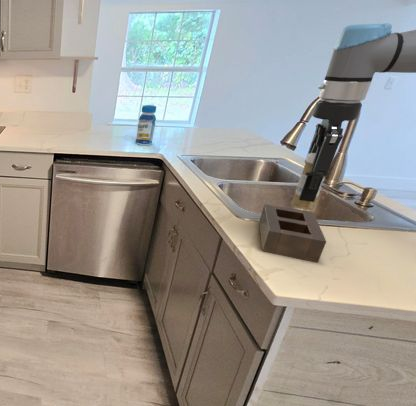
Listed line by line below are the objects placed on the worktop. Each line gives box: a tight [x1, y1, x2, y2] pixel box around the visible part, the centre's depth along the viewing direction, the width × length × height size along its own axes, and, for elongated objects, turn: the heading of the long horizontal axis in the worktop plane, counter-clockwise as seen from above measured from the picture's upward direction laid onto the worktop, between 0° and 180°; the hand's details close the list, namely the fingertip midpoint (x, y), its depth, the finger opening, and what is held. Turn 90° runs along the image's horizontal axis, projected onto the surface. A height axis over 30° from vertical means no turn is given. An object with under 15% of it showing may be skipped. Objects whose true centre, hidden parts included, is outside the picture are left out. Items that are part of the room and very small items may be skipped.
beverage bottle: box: [135, 104, 157, 146], centre depth 193 cm, size 8×8×20 cm
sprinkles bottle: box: [290, 153, 325, 211], centre depth 89 cm, size 5×5×14 cm
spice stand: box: [258, 203, 327, 263], centre depth 98 cm, size 11×20×6 cm, turn 147°
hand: (304, 196), depth 90 cm, fingers closed on sprinkles bottle, 4 cm apart
